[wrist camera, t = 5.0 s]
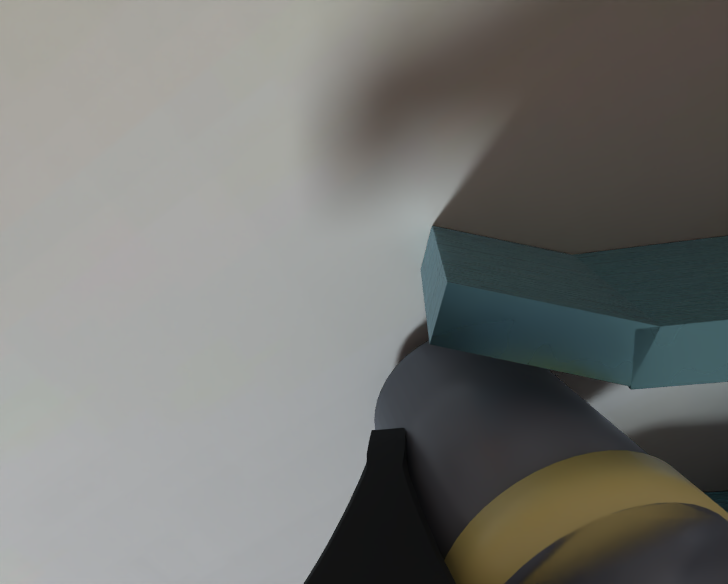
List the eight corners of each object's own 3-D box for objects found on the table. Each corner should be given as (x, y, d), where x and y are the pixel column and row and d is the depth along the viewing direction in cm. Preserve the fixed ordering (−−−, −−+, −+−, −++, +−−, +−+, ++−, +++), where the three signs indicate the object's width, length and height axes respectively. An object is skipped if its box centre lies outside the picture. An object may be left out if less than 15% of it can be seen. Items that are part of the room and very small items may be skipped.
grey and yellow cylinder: (530, 466, 14) (702, 685, 8) (372, 494, 13) (447, 761, 7) (551, 317, 12) (788, 470, 7) (370, 336, 11) (468, 535, 6)
